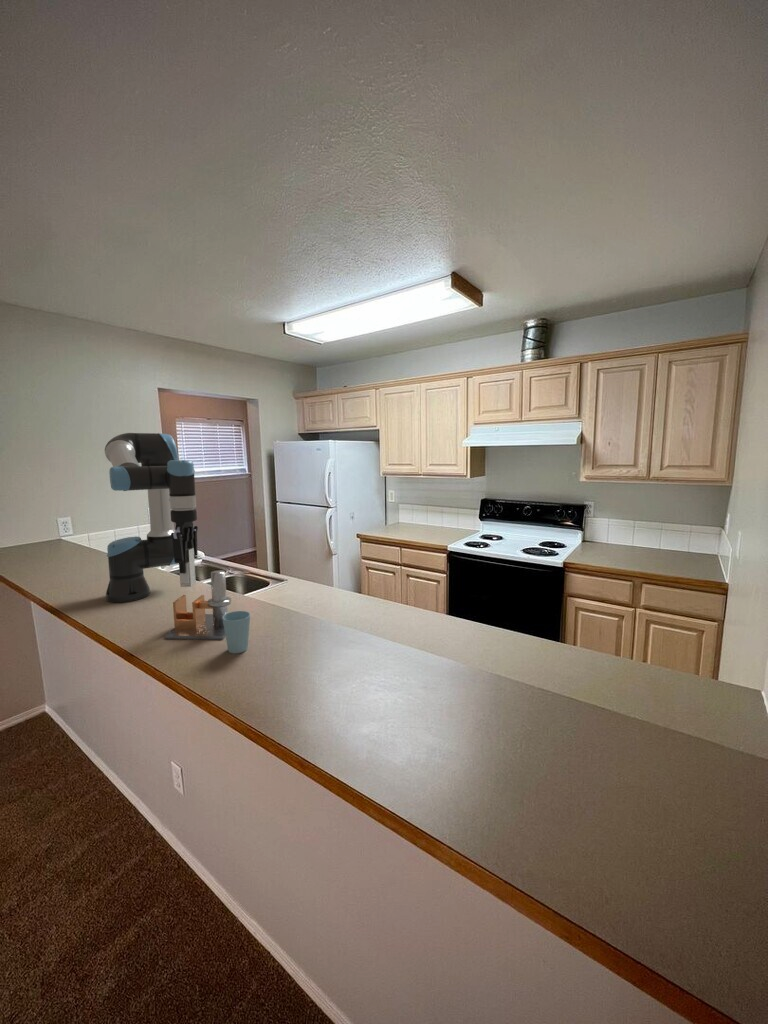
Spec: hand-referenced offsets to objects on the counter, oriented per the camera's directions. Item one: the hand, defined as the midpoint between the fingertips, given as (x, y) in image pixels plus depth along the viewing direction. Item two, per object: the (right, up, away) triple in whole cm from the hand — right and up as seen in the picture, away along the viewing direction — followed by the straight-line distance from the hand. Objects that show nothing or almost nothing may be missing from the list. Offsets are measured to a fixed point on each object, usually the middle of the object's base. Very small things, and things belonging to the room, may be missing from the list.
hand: (187, 580), depth 138 cm
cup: (+21, -18, -13) cm, 30 cm away
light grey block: (0, -2, 0) cm, 2 cm away
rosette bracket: (+5, -16, +3) cm, 17 cm away
